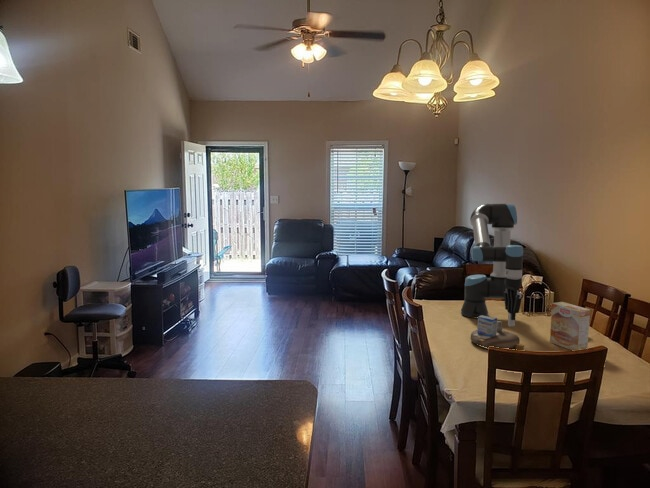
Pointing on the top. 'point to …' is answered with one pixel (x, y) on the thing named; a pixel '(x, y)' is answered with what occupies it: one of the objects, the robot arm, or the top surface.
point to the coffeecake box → (569, 326)
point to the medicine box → (487, 326)
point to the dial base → (518, 347)
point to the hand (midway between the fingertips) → (511, 325)
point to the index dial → (496, 338)
